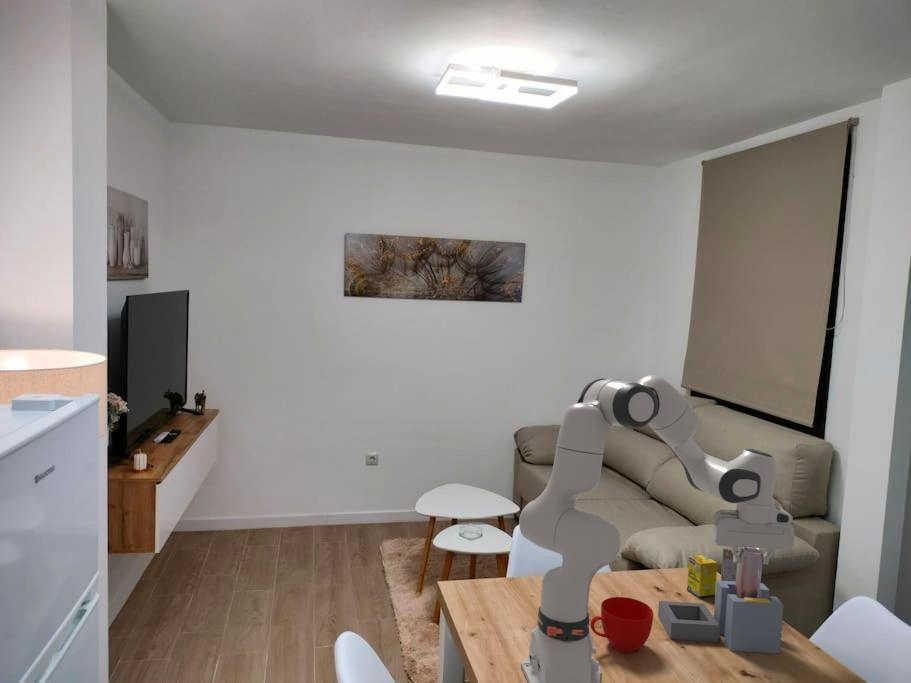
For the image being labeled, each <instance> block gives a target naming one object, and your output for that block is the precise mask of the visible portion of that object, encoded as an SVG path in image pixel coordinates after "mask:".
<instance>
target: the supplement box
mask: <svg viewBox="0 0 911 683" xmlns="http://www.w3.org/2000/svg"><path fill="white" fill-rule="evenodd" d="M687 572H688V573H687V584H686V590H687V591H688V592H690V593H691V594H692V595H693V596H695V597H697V599H699V600H700V598H701V599H708V597H709V598H715V594H716V581H717V574H718V561H715V560H713V559H712V558H710V557H709V556H707V555H705V554H700V555H699V554H698V555H690V556H689V557H688V570H687Z"/></svg>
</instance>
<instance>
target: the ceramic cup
mask: <svg viewBox="0 0 911 683" xmlns="http://www.w3.org/2000/svg"><path fill="white" fill-rule="evenodd" d="M653 620H654V611H653V609H652V607H651V606H649V605H648V604H647V603H645V602H643V601H641V600H638V599H635V598H631V597H625V596H612V597H608V598H605V599H604V600H602V602H601V604H600V615H597V616H594V617H592V619H591V620H590V622H589V627H590V629H591V631H592V632H593V633H594V634H595V635H597V636H598V637H602V638H606V639H607V640H608V642H609V643H610V645H611V646H612V647H613V649H615V650H616V651H619V652H621V653H627V654H629V653H630V654H632V653H635V652H637V651H638V650H640V648H642V646H644V644H646V642H647V641H648V639H649V637H650V635H651V632H652V628H653V622H654V621H653ZM597 621H601V626H602V631H603V632H599V631H597V630H596V629H595V624H596V622H597Z"/></svg>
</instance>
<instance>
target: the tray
mask: <svg viewBox="0 0 911 683" xmlns="http://www.w3.org/2000/svg"><path fill="white" fill-rule="evenodd" d="M657 617H658V619H659V621H660V623H661V625H662V627H663V628H664V631H665V632H666V634H667V636H668V638H669V640H677V641H678V640H681V641H693V642H694V641H695V642H707V643H709V642H710V643H711V642H713V643H719V642H720V641H719V640H720V639H719V638H720V634H719V628H720V625H719V624H718V622H717V621H716V620H715V618H714V614H712V613H711V611H710V610H709V608H708V607H707V606H706V605H705V603H700V602H684V601H682V602H681V601H667V600H666V601H665V600H659V601H658V611H657Z"/></svg>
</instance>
